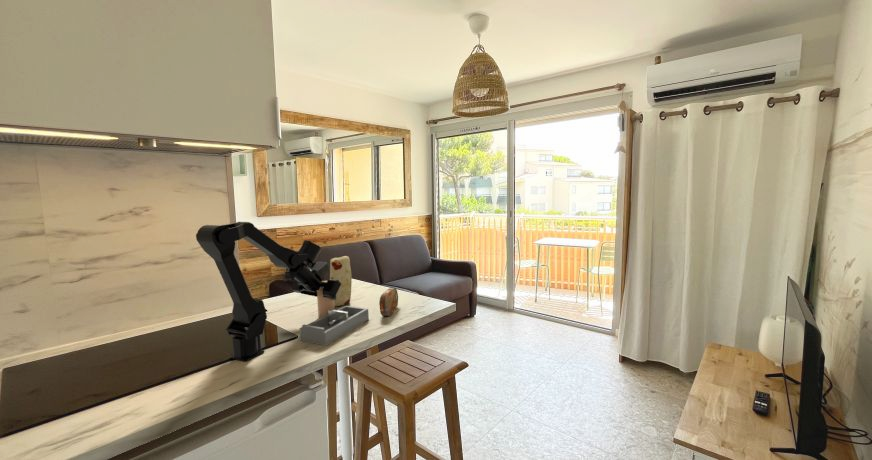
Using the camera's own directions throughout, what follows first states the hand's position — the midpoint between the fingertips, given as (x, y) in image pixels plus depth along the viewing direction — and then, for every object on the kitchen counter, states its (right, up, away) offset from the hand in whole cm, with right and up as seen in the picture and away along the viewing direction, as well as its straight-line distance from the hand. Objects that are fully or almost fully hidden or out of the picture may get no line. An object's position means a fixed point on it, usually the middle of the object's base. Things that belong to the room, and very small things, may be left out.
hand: (328, 297), depth 134 cm
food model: (+1, -6, +14) cm, 15 cm away
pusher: (+6, -7, -13) cm, 16 cm away
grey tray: (+6, -8, -12) cm, 16 cm away
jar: (0, -7, 0) cm, 7 cm away
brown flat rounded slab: (+22, -7, +4) cm, 23 cm away
